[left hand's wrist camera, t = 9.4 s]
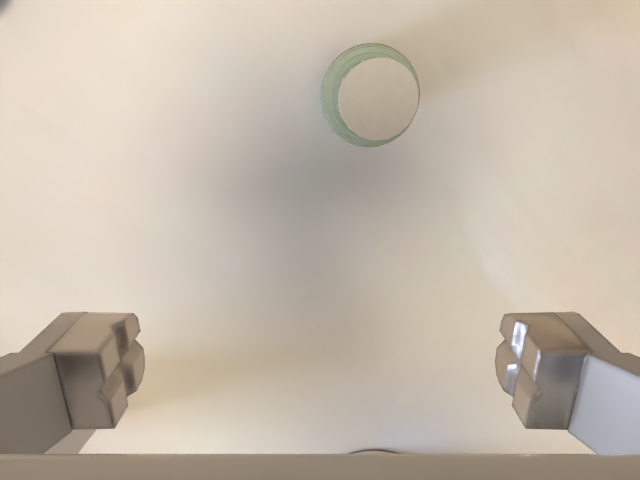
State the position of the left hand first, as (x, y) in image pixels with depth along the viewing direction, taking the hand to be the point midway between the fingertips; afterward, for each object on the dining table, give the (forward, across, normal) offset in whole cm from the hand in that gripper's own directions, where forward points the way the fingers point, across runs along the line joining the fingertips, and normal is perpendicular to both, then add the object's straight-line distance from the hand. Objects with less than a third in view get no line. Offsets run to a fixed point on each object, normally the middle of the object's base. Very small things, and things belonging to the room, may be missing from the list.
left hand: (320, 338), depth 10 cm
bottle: (+33, +3, +4) cm, 34 cm away
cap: (+15, +3, +4) cm, 16 cm away
